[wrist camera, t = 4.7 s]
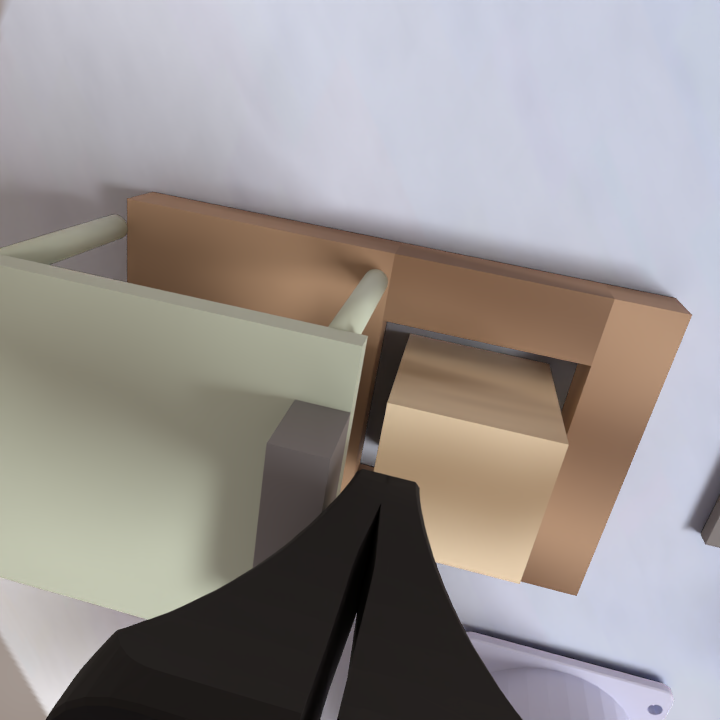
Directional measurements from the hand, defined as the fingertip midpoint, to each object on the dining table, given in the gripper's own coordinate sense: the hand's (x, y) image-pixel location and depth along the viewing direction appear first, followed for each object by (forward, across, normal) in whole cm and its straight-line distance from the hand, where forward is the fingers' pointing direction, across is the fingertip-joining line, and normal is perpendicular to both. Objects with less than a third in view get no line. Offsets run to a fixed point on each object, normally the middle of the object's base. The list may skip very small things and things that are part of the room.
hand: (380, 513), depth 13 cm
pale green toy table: (+6, +6, +1) cm, 8 cm away
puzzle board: (+8, +1, +1) cm, 8 cm away
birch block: (+8, -2, +1) cm, 8 cm away
